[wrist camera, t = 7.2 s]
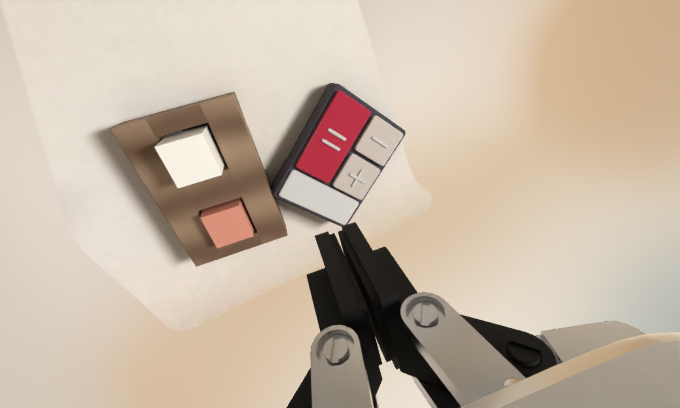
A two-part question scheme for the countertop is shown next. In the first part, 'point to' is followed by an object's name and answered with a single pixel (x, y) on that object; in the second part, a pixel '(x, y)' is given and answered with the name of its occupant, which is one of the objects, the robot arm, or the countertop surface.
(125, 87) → the countertop surface
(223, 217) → the salmon pink key
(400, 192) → the countertop surface
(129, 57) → the countertop surface
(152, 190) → the key panel
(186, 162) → the white key
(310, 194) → the calculator
